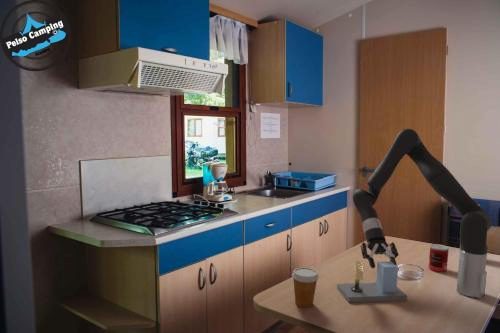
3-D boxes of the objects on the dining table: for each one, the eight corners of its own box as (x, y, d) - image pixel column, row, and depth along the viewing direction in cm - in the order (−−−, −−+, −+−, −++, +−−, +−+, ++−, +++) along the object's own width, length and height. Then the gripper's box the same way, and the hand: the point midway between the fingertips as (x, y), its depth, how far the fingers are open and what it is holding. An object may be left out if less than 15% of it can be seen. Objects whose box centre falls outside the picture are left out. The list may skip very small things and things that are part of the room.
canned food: (442, 267, 185) (444, 244, 183) (449, 273, 177) (451, 249, 175) (425, 266, 185) (427, 243, 184) (431, 272, 177) (433, 248, 176)
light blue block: (389, 285, 156) (390, 261, 155) (396, 291, 151) (398, 266, 149) (375, 286, 155) (377, 261, 154) (382, 292, 150) (384, 267, 149)
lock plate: (391, 287, 160) (392, 276, 159) (406, 300, 148) (407, 289, 147) (337, 288, 157) (337, 277, 156) (348, 302, 145) (349, 290, 144)
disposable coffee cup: (299, 295, 150) (301, 265, 148) (322, 303, 144) (323, 271, 142) (285, 303, 142) (287, 272, 141) (308, 312, 136) (310, 279, 135)
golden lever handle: (353, 286, 152) (354, 260, 151) (359, 287, 152) (361, 260, 151) (354, 299, 141) (356, 270, 140) (361, 300, 141) (363, 271, 140)
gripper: (360, 226, 161) (370, 263, 151) (392, 226, 163) (405, 263, 153) (354, 235, 167) (363, 271, 157) (386, 235, 168) (397, 271, 158)
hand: (384, 267), depth 155 cm, fingers open, 8 cm apart
